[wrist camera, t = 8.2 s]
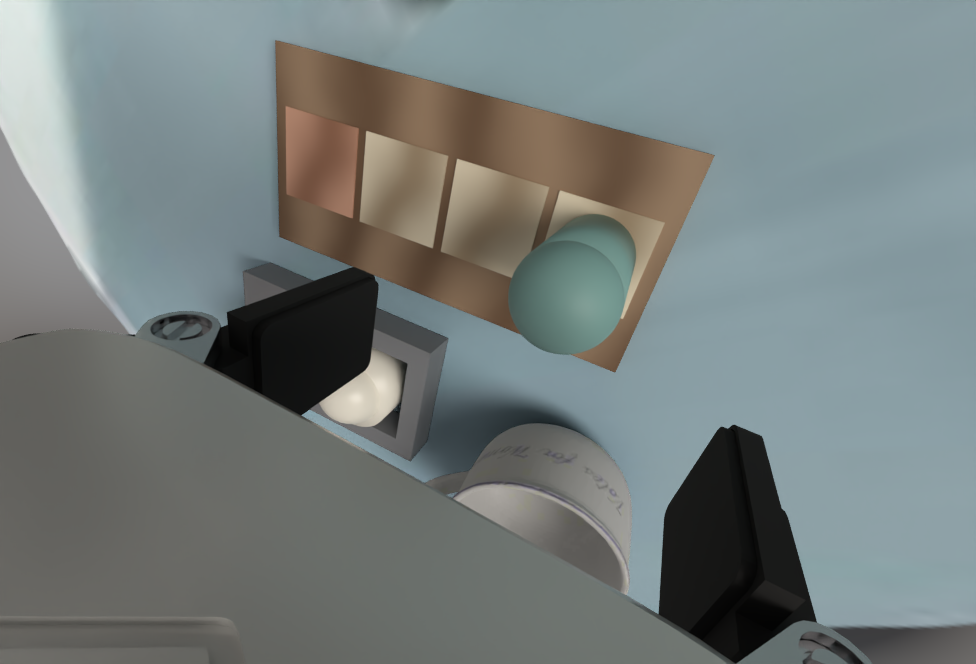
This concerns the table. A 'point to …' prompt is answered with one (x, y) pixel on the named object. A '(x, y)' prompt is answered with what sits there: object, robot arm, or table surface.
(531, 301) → the green capsule
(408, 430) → the base
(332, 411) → the dome
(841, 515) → the table surface
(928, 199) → the table surface
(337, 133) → the track board
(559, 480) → the teacup
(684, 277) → the table surface
